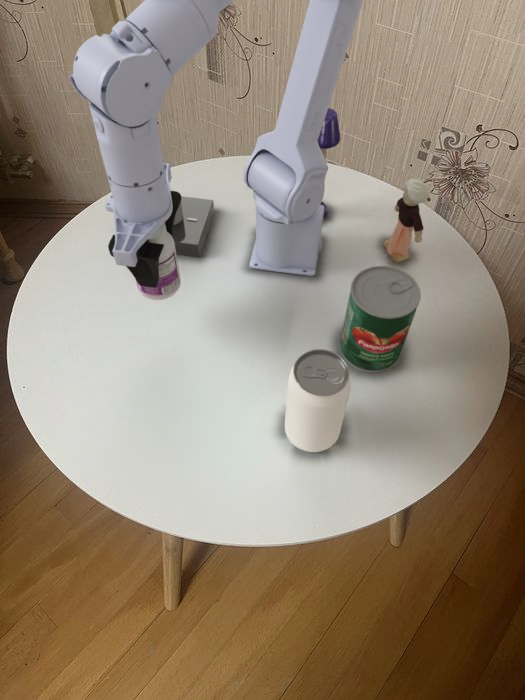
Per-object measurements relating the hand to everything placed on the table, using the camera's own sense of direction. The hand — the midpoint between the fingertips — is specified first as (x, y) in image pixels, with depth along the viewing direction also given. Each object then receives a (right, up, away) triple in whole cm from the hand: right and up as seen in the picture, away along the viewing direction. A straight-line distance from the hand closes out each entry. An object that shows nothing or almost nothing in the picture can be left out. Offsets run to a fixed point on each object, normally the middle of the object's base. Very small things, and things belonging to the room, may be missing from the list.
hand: (155, 266), depth 67 cm
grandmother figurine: (+33, +4, +16) cm, 37 cm away
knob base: (-1, +8, +19) cm, 21 cm away
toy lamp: (+21, +12, +22) cm, 32 cm away
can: (+18, -19, -1) cm, 27 cm away
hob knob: (-1, +10, +17) cm, 19 cm away
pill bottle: (0, -2, +3) cm, 4 cm away
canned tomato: (+27, -10, +6) cm, 29 cm away
